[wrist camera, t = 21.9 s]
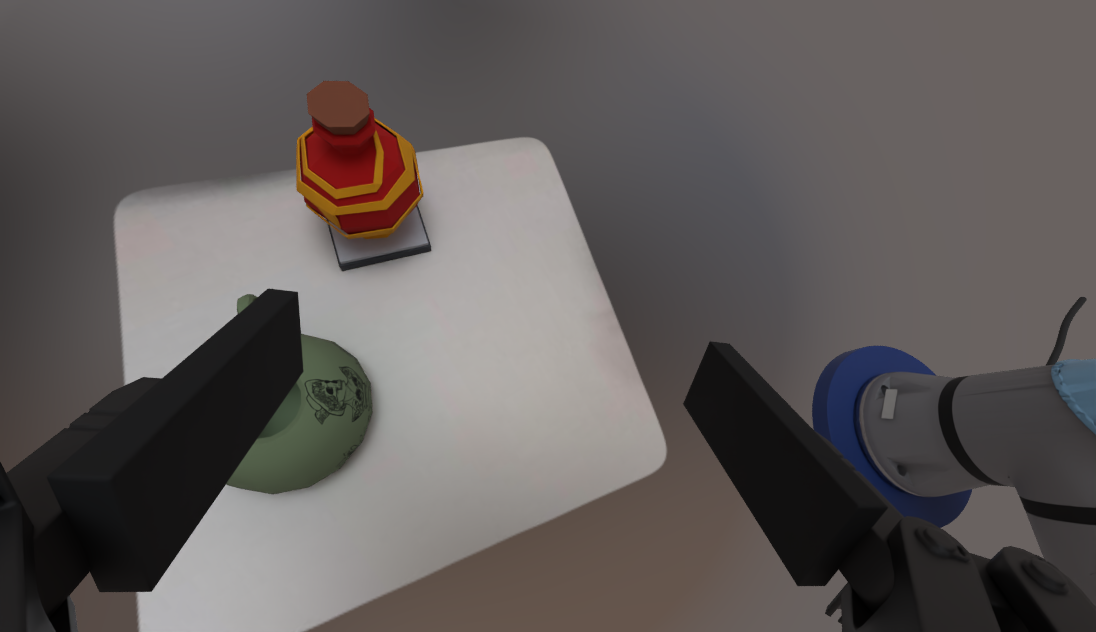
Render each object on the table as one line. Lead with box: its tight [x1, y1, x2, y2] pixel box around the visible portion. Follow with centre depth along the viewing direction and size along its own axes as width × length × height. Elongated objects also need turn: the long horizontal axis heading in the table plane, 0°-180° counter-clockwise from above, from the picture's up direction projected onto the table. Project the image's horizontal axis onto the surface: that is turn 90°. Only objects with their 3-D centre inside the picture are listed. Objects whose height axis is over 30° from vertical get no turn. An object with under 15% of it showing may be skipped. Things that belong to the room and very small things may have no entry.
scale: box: [327, 205, 431, 271], centre depth 43 cm, size 9×9×2 cm
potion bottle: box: [296, 81, 423, 239], centre depth 36 cm, size 10×10×15 cm
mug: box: [226, 294, 372, 494], centre depth 33 cm, size 16×13×9 cm
